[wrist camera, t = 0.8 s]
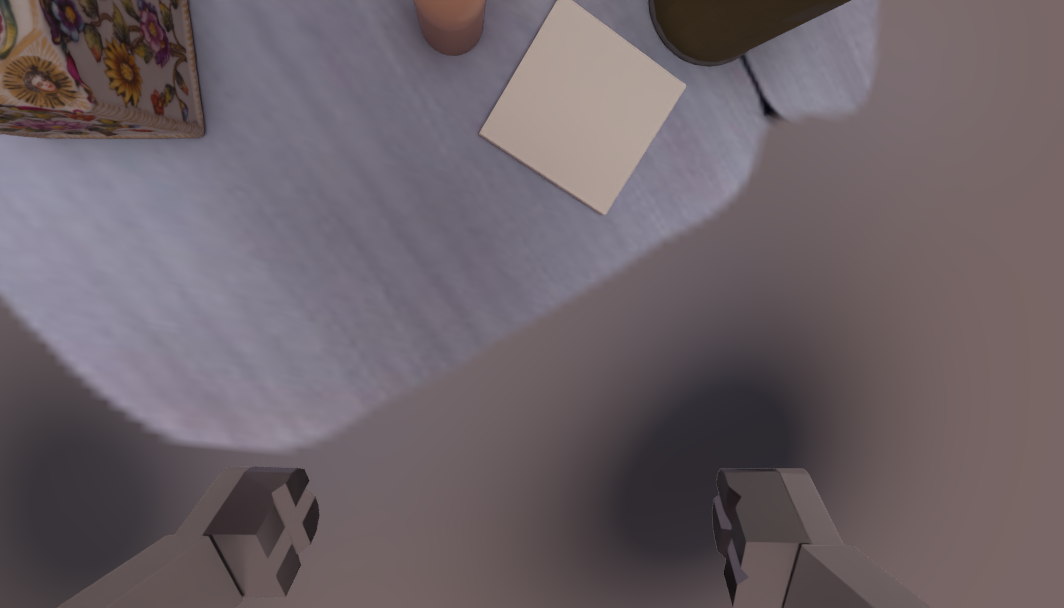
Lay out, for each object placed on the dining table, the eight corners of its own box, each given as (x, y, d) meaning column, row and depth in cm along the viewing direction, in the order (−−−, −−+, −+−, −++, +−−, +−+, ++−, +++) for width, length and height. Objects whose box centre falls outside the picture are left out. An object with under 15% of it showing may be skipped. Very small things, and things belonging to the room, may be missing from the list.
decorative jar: (189, -31, 39) (-33, -209, 22) (212, 139, 41) (29, 102, 24) (5, -36, 38) (-392, -231, 20) (39, 139, 40) (-289, 102, 23)
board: (478, 134, 44) (479, 132, 42) (558, -1, 42) (561, -8, 41) (600, 214, 46) (605, 215, 45) (679, 89, 45) (686, 85, 43)
